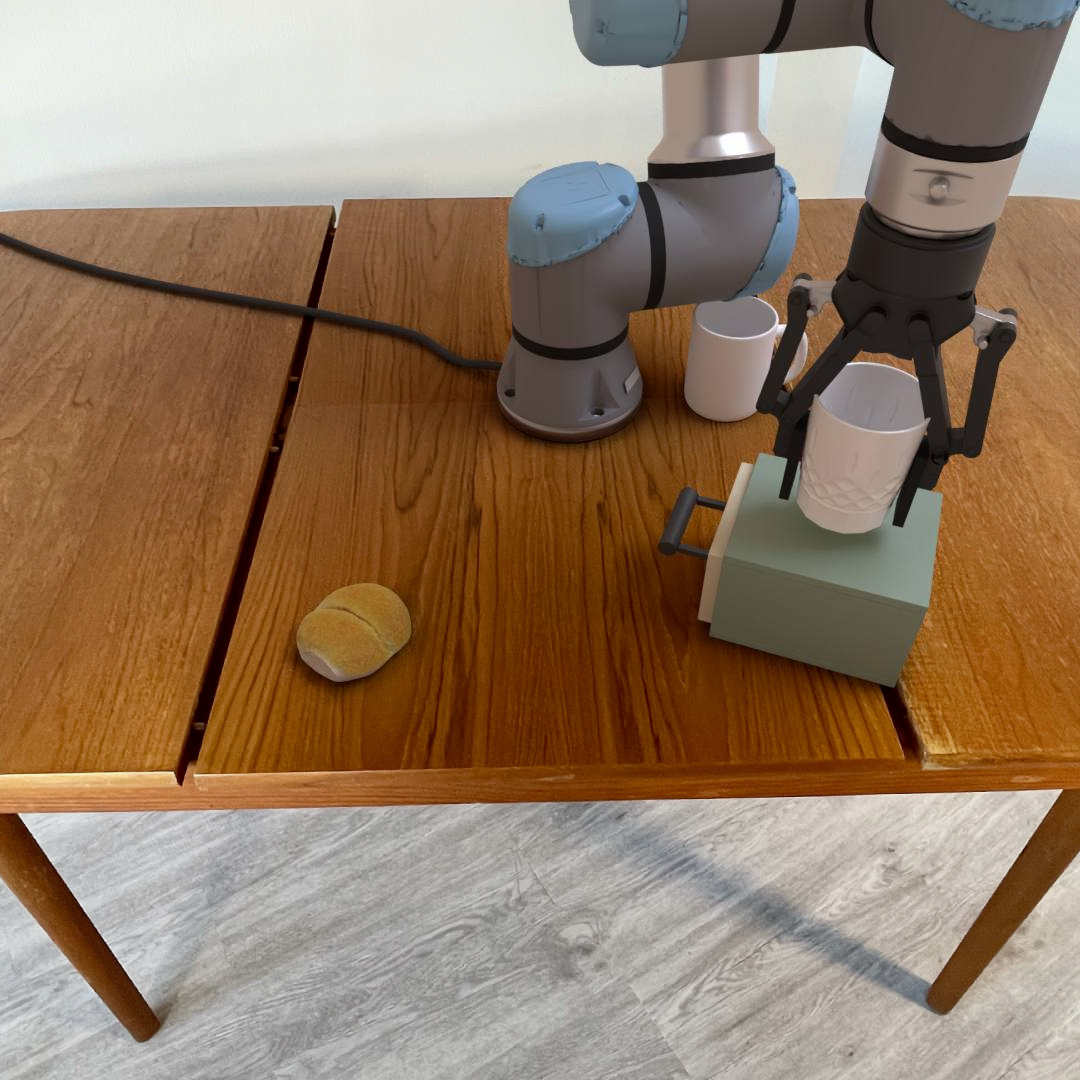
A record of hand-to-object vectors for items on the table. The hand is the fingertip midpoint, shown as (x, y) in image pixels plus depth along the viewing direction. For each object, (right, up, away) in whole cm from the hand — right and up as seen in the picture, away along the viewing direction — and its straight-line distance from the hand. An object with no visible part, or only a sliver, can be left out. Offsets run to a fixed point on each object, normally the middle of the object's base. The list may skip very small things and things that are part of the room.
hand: (842, 500), depth 69 cm
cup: (-1, +12, +29) cm, 31 cm away
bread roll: (-38, -11, +7) cm, 40 cm away
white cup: (0, 0, 0) cm, 0 cm away
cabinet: (0, -8, +8) cm, 12 cm away
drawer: (-3, -7, +9) cm, 12 cm away
